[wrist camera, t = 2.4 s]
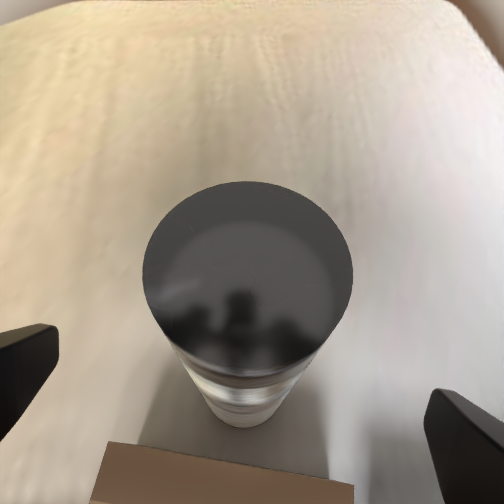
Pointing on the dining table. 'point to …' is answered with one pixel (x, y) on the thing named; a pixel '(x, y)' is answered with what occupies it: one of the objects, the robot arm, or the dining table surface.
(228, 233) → the cylinder
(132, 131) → the dining table surface
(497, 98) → the dining table surface
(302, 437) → the dining table surface
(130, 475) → the walnut block
